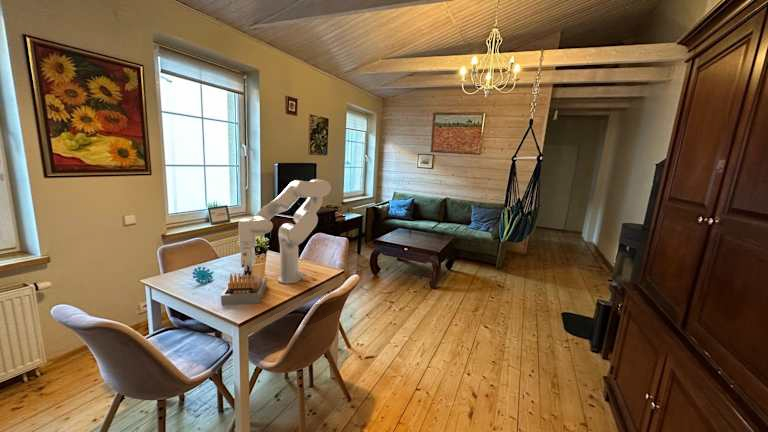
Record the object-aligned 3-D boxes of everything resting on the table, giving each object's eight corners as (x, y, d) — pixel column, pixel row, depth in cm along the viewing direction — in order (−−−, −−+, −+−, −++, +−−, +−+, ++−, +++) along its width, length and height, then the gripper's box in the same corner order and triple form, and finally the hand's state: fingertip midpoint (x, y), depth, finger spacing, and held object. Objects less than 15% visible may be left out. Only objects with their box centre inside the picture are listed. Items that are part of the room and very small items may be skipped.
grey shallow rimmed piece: (259, 303, 141) (258, 293, 140) (221, 304, 138) (220, 295, 137) (266, 285, 160) (266, 277, 159) (233, 286, 157) (233, 278, 156)
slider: (258, 293, 146) (258, 280, 145) (228, 295, 143) (227, 281, 142) (261, 286, 155) (261, 273, 154) (233, 287, 152) (233, 273, 151)
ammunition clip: (229, 299, 140) (228, 274, 138) (230, 297, 142) (229, 272, 140) (254, 298, 142) (253, 273, 140) (254, 296, 144) (254, 272, 142)
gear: (197, 284, 154) (190, 267, 156) (192, 290, 156) (184, 273, 159) (218, 280, 164) (211, 264, 166) (212, 285, 166) (205, 270, 168)
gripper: (251, 247, 145) (252, 284, 148) (258, 239, 159) (259, 273, 163) (234, 248, 144) (236, 284, 147) (243, 239, 158) (244, 273, 161)
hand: (248, 278), depth 155 cm, fingers closed
